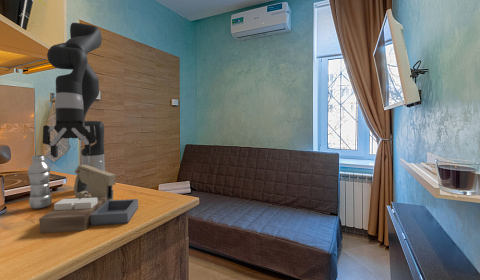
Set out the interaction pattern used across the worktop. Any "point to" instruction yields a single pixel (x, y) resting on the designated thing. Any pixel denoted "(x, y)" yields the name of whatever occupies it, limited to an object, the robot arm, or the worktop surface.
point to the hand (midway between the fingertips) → (71, 156)
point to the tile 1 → (65, 204)
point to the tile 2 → (85, 203)
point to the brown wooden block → (68, 219)
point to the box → (114, 212)
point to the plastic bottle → (39, 183)
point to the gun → (93, 182)
